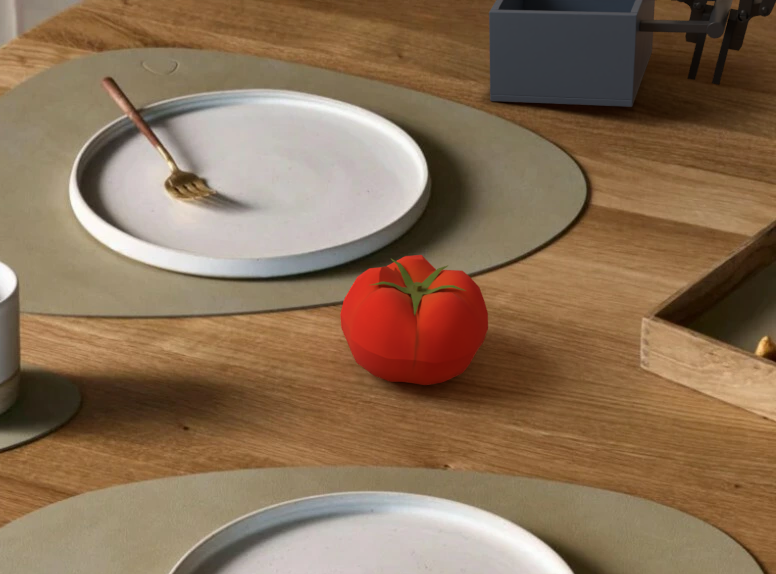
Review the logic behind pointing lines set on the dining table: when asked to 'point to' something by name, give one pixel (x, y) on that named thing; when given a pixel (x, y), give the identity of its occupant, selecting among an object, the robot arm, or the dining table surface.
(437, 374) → the tomato
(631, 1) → the handled storage bin
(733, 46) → the robot arm
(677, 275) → the dining table surface
